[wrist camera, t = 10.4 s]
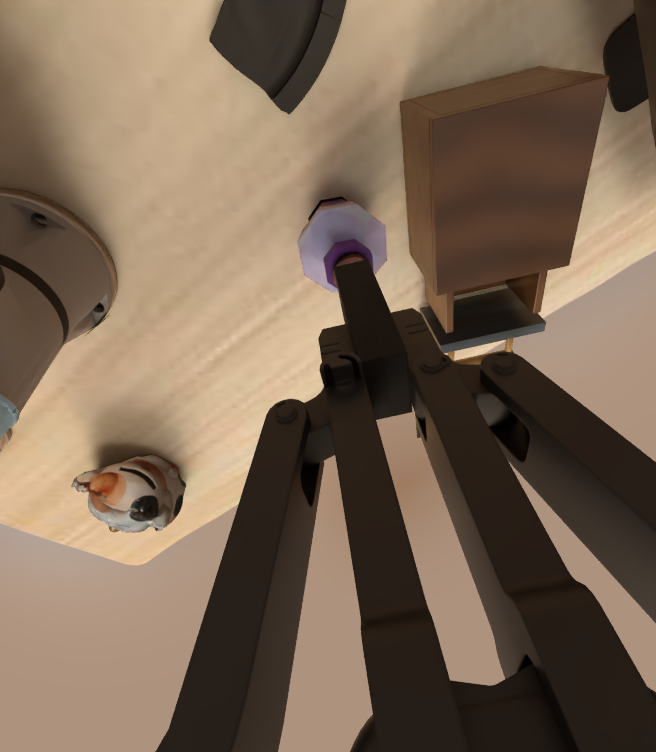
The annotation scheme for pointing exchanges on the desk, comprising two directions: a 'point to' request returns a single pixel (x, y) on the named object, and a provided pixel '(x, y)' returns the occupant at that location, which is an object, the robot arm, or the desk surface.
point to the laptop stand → (633, 61)
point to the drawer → (485, 315)
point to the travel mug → (5, 439)
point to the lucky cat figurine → (134, 493)
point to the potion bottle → (340, 240)
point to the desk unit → (499, 174)
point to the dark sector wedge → (278, 43)
